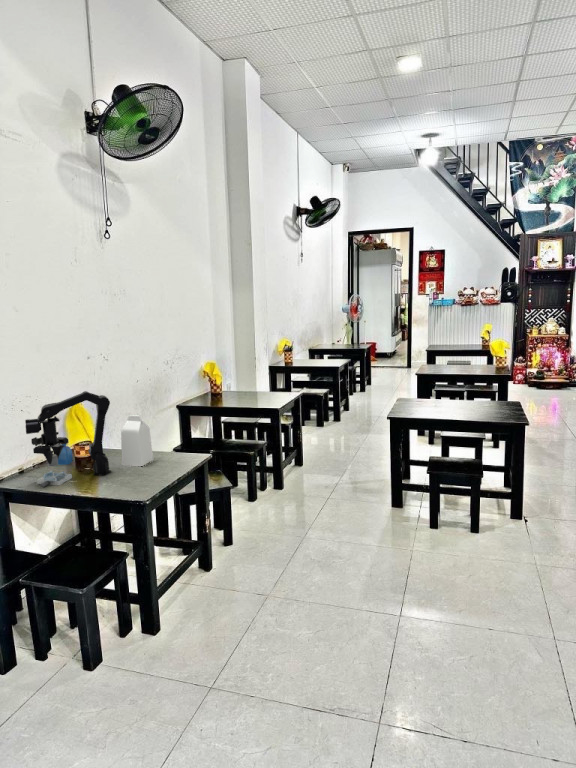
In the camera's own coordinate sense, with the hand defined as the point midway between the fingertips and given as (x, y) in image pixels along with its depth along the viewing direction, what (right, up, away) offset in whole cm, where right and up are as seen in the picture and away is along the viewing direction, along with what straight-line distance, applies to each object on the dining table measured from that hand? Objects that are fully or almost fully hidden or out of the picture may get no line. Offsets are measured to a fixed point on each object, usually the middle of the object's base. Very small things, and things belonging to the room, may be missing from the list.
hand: (53, 462), depth 257 cm
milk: (+34, -4, +26) cm, 43 cm away
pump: (0, -1, 0) cm, 1 cm away
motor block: (0, -10, 0) cm, 10 cm away
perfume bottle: (-7, -5, +29) cm, 31 cm away
